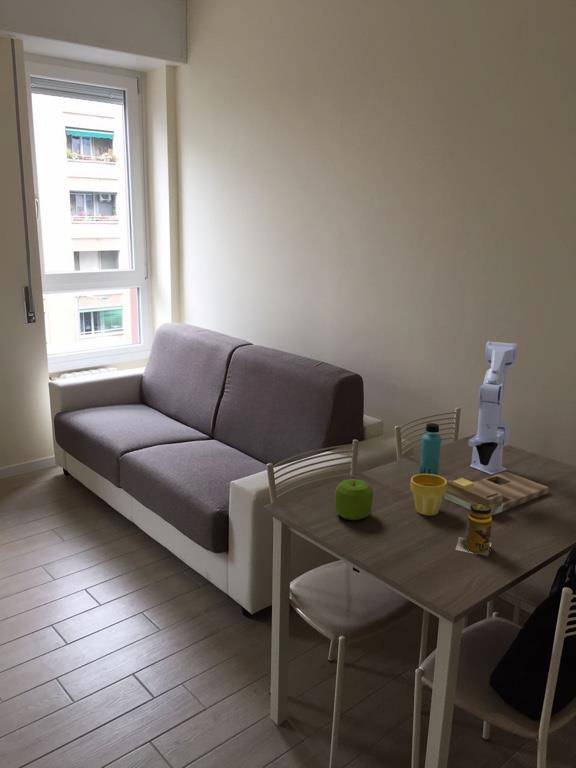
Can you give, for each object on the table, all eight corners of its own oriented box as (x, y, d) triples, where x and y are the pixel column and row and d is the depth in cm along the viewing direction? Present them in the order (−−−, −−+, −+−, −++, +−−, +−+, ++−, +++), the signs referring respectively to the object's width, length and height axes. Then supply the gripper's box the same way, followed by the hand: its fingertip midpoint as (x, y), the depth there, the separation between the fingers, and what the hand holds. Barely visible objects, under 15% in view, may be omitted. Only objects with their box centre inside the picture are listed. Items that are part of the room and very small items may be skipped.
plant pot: (412, 500, 198) (414, 470, 196) (447, 506, 195) (449, 476, 192) (405, 515, 189) (407, 483, 186) (442, 521, 185) (444, 489, 183)
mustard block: (461, 489, 201) (462, 477, 200) (472, 494, 198) (473, 482, 197) (451, 493, 199) (452, 481, 198) (463, 498, 195) (464, 486, 194)
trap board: (505, 476, 217) (506, 461, 216) (547, 493, 205) (549, 476, 203) (444, 498, 200) (445, 481, 199) (486, 517, 188) (488, 500, 186)
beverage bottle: (438, 479, 214) (442, 421, 209) (439, 487, 208) (443, 428, 203) (418, 477, 215) (422, 420, 210) (418, 485, 209) (422, 426, 204)
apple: (375, 523, 183) (377, 488, 180) (337, 524, 182) (338, 488, 180) (368, 506, 194) (369, 472, 191) (332, 507, 193) (333, 473, 190)
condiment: (489, 557, 166) (493, 514, 163) (455, 550, 169) (458, 508, 166) (491, 544, 173) (495, 502, 170) (458, 538, 176) (462, 497, 173)
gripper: (483, 430, 190) (479, 473, 194) (514, 421, 198) (509, 463, 202) (464, 424, 196) (460, 466, 199) (494, 416, 204) (490, 456, 207)
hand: (484, 464), depth 201 cm, fingers closed
